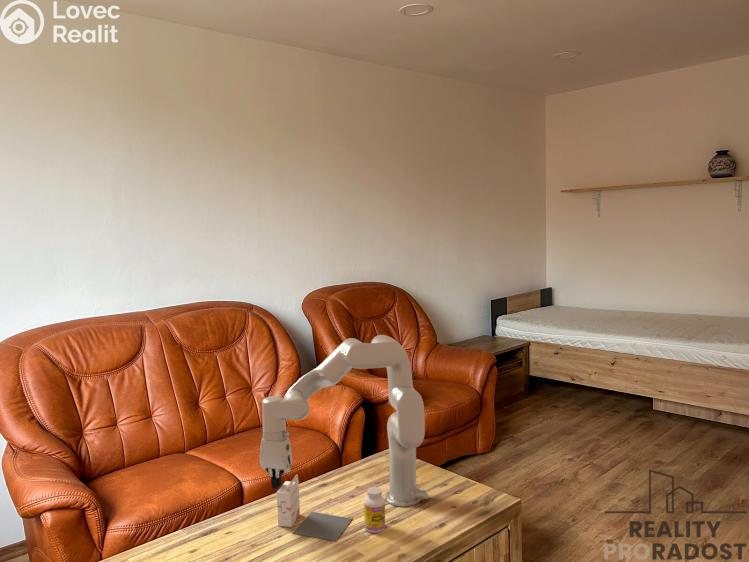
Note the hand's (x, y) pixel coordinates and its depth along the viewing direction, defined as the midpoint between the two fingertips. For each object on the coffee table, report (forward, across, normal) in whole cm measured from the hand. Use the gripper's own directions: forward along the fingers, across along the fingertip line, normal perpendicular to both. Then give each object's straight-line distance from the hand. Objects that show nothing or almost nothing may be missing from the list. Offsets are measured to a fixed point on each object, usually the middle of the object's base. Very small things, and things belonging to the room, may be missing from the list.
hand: (276, 487), depth 192 cm
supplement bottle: (+11, -33, -4) cm, 35 cm away
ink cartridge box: (+11, -4, 0) cm, 12 cm away
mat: (+11, -17, 0) cm, 20 cm away
